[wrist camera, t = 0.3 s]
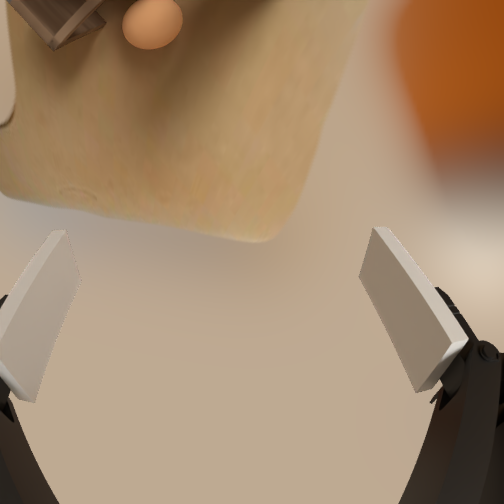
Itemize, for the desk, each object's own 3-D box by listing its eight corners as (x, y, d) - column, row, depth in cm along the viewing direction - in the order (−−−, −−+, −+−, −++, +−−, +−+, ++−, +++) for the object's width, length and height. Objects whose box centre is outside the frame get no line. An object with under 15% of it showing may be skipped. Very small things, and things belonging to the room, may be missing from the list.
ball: (167, -17, 22) (149, -15, 18) (199, 22, 26) (187, 30, 22) (124, 16, 25) (100, 26, 21) (155, 52, 28) (137, 67, 24)
